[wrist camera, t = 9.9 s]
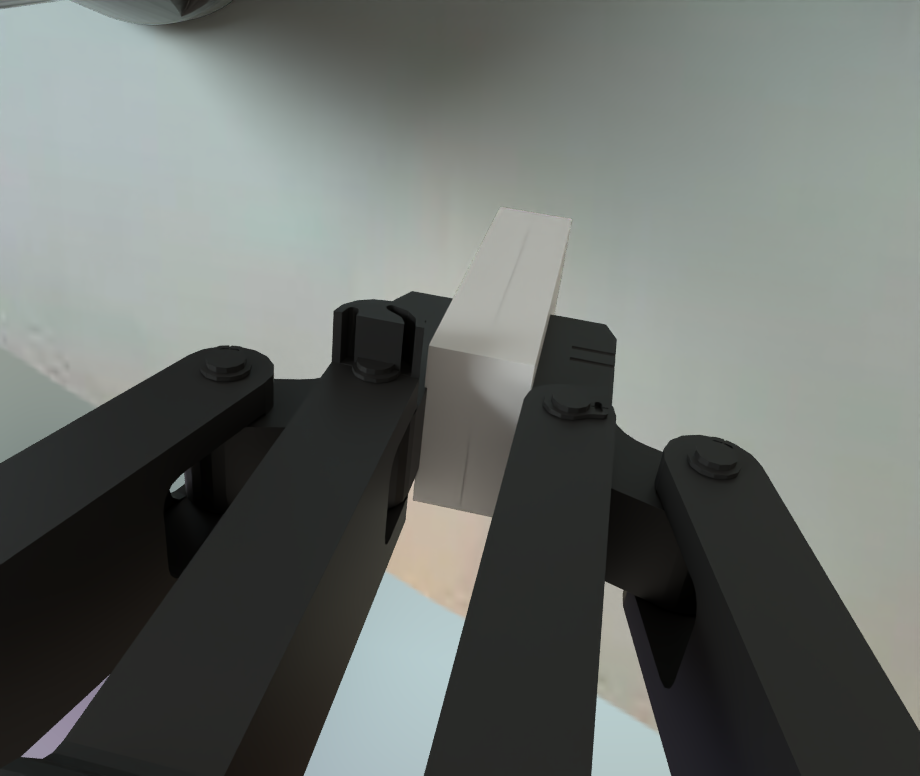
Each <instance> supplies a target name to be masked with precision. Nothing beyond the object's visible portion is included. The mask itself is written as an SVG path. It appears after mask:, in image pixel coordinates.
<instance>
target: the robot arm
mask: <svg viewBox="0 0 920 776" xmlns="http://www.w3.org/2000/svg"><path fill="white" fill-rule="evenodd" d="M54 1H61V0H0V9H6V8H12V7H19V6H26V5H33V4H40V3H47V2H54ZM70 1H73V2H75V3H77V4H79V5H82V6H84V7H86V8H89V9H91V10H93V11H96V12H98V13H100V14H103V15H105V16H108V17H111V18H114V19H117V20H121V21H125V22H130V23H136V24H147V25H162V24H171V23H176V22H181V21H186V20H191V19H195V18H199V17H202V16H205V15H208V14H210V13H213V12H215V11H217V10H219V9H221V8H222V7H224V6H225V5H227V4H229V3H230V2H231V1H233V0H70ZM571 223H572V219H570V218H564V217H558V216H552V215H546V214H541V213H535V212H529V211H523V210H517V209H511V208H505V207H500V208H499V210H498V212H497V214H496V216H495V218H494V220H493V222H492V224H491V226H490V228H489V230H488V232H487V233H486V235H485V237H484V239H483V241H482V243H481V245H480V247H479V249H478V251H477V253H476V255H475V257H474V259H473V261H472V263H471V264H470V266H469V268H468V270H467V272H466V274H465V276H464V278H463V280H462V282H461V284H460V286H459V288H458V290H457V292H456V294H455V296H454V297H453V299H452V298H447V297H441V296H436V295H430V294H425V293H419V292H414V291H412V292H410V293H408V294H406V295H404V296H402V297H400V298H398V299H395V300H394V301H385V300H375V299H371V300H357V301H353V302H350V303H346V304H343V305H341V306H340V307H339V308H337V309H336V310H334V317H333V344H332V362H331V364H330V365H329V367H328V368H327V369H326V371H325V372H324V374H323V375H322V376H321V378H316V379H300V380H299V379H274V364H273V363H272V362H271V361H270V359H269V358H268V357H267V356H265V355H263V354H261V353H259V352H257V351H255V350H251V349H247V348H242V347H240V346H231V347H229V346H218V347H214V348H208V349H203V350H200V351H198V352H195V353H193V354H190V355H188V356H186V357H185V358H183V359H181V360H179V361H178V362H176V363H174V364H172V365H171V366H169V367H167V368H165V369H164V370H162V371H160V372H158V373H157V374H155V375H153V376H152V377H150V378H148V379H146V380H145V381H143V382H141V383H139V384H138V385H136V386H134V387H132V388H131V389H129V390H127V391H125V392H124V393H122V394H120V395H118V396H117V397H115V398H113V399H111V400H110V401H108V402H106V403H105V404H103V405H101V406H99V407H98V408H96V409H94V410H93V411H91V412H89V413H87V414H85V415H84V416H82V417H80V418H78V419H77V420H75V421H73V422H71V423H70V424H68V425H66V426H65V427H63V428H61V429H59V430H58V431H56V432H54V433H52V434H51V435H49V436H47V437H46V438H44V439H42V440H40V441H39V442H37V443H35V444H33V445H31V446H30V447H28V448H26V449H25V450H23V451H21V452H19V453H18V454H16V455H14V456H12V457H11V458H9V459H7V460H5V461H4V462H2V463H0V776H304V773H305V771H306V768H307V765H308V763H309V760H310V758H311V756H312V753H313V750H314V748H315V746H316V743H317V740H318V738H319V735H320V733H321V730H322V728H323V725H324V723H325V720H326V718H327V715H328V713H329V710H330V708H331V705H332V703H333V700H334V698H335V695H336V693H337V690H338V688H339V685H340V683H341V680H342V678H343V675H344V673H345V670H346V668H347V665H348V663H349V660H350V658H351V655H352V653H353V650H354V648H355V645H356V643H357V640H358V638H359V635H360V633H361V630H362V628H363V625H364V623H365V620H366V618H367V615H368V613H369V610H370V608H371V605H372V602H373V600H374V598H375V595H376V593H377V590H378V588H379V585H380V583H381V580H382V578H383V575H384V573H385V570H386V568H387V565H388V563H389V560H390V558H391V555H392V553H393V550H394V548H395V545H396V543H397V540H398V538H399V535H400V533H401V530H402V528H403V525H404V523H405V519H406V509H407V499H408V493H409V490H410V488H411V486H412V483H413V481H414V479H415V484H414V493H413V500H414V501H418V502H423V503H428V504H433V505H437V506H442V507H447V508H451V509H456V510H461V511H465V512H470V513H475V514H479V515H484V516H489V517H492V521H491V525H490V528H489V532H488V536H487V540H486V543H485V547H484V551H483V555H482V558H481V562H480V566H479V570H478V574H477V577H476V581H475V585H474V589H473V592H472V596H471V600H470V604H469V608H468V611H467V615H466V619H465V623H464V626H463V630H462V634H461V638H460V642H459V645H458V649H457V653H456V657H455V661H454V664H453V668H452V672H451V675H450V679H449V683H448V687H447V691H446V694H445V698H444V702H443V706H442V709H441V713H440V717H439V721H438V724H437V728H436V732H435V736H434V739H433V743H432V747H431V751H430V755H429V758H428V762H427V766H426V770H425V773H424V776H591V770H592V755H593V742H594V727H595V713H596V699H597V684H598V670H599V656H600V641H601V627H602V612H603V598H604V584H605V581H606V582H608V583H610V584H612V585H614V586H616V587H619V588H621V589H623V590H624V591H623V608H624V611H625V615H626V618H627V622H628V625H629V629H630V632H631V636H632V639H633V643H634V646H635V650H636V653H637V657H638V660H639V664H640V667H641V671H642V674H643V678H644V681H645V685H646V688H647V692H648V695H649V699H650V703H651V706H652V710H653V713H654V717H655V720H656V724H657V727H658V731H659V734H660V738H661V741H662V745H663V748H664V752H665V755H666V758H667V762H668V766H669V769H670V773H671V776H920V731H919V729H918V728H917V726H916V724H915V723H914V721H913V719H912V717H911V716H910V714H909V712H908V711H907V709H906V707H905V706H904V704H903V702H902V701H901V699H900V697H899V696H898V694H897V692H896V691H895V689H894V687H893V686H892V684H891V682H890V681H889V679H888V677H887V675H886V674H885V672H884V670H883V669H882V667H881V665H880V664H879V662H878V660H877V659H876V657H875V655H874V654H873V652H872V650H871V649H870V647H869V645H868V644H867V642H866V640H865V639H864V637H863V635H862V633H861V632H860V630H859V628H858V627H857V625H856V623H855V622H854V620H853V618H852V617H851V615H850V613H849V612H848V610H847V608H846V607H845V605H844V603H843V602H842V600H841V598H840V597H839V595H838V593H837V591H836V590H835V588H834V586H833V585H832V583H831V581H830V580H829V578H828V576H827V575H826V573H825V571H824V570H823V568H822V566H821V565H820V563H819V561H818V560H817V558H816V556H815V555H814V553H813V551H812V549H811V548H810V546H809V544H808V543H807V541H806V539H805V538H804V536H803V534H802V533H801V531H800V529H799V528H798V526H797V524H796V523H795V521H794V519H793V518H792V516H791V514H790V513H789V511H788V509H787V507H786V506H785V504H784V502H783V501H782V499H781V497H780V496H779V494H778V492H777V491H776V489H775V487H774V486H773V484H772V482H771V481H770V479H769V477H768V476H767V474H766V472H765V471H764V469H763V467H762V466H761V465H760V463H759V462H758V461H757V460H756V459H755V458H754V457H753V456H752V455H751V454H750V453H748V452H746V451H745V450H743V449H742V448H740V447H739V446H737V445H735V444H734V443H731V442H729V441H727V440H726V441H724V439H721V438H717V437H709V436H703V435H686V436H680V437H678V438H675V439H673V440H670V441H669V443H668V444H667V445H666V447H665V448H664V450H663V452H661V451H659V450H656V449H654V448H651V447H649V446H647V445H645V444H643V443H640V442H638V441H636V440H635V439H633V438H632V437H630V436H629V435H627V434H626V433H624V432H623V431H622V430H621V429H620V428H619V427H618V426H617V424H616V415H615V411H614V408H613V406H612V395H613V382H614V366H615V354H616V341H617V339H616V338H615V336H614V335H613V334H612V332H611V331H610V330H609V328H608V327H607V325H605V324H600V323H594V322H589V321H583V320H578V319H573V318H567V317H562V316H556V315H554V314H555V309H556V304H557V298H558V293H559V287H560V282H561V277H562V271H563V266H564V260H565V255H566V250H567V244H568V239H569V233H570V228H571ZM183 473H184V475H185V484H184V485H183V486H181V487H180V488H179V489H177V490H176V491H174V492H172V493H170V490H169V489H170V487H171V485H172V484H173V483H174V482H175V481H176V480H177V478H179V476H180V475H181V474H183ZM109 675H110V676H109ZM107 676H109V677H108V678H107V680H106V681H105V683H104V684H103V685H102V687H101V688H100V690H99V691H98V692H97V694H96V695H95V697H94V698H93V700H92V701H91V702H90V704H89V705H88V707H87V709H85V711H84V713H83V714H82V715H81V717H80V718H79V719H78V721H77V722H76V724H75V725H74V726H73V728H72V729H71V731H70V732H69V733H68V735H67V736H66V738H65V739H64V741H63V742H62V743H61V744H60V745H59V746H58V747H57V749H56V750H55V751H54V752H53V753H52V754H50V755H48V756H46V757H45V758H43V759H37V758H25V757H21V756H22V755H23V754H24V753H25V752H26V751H27V750H29V749H30V748H31V747H32V746H33V745H34V744H35V743H36V742H37V741H38V740H39V739H40V738H41V737H43V736H44V735H45V734H46V733H47V732H48V731H49V730H50V729H51V728H52V727H53V726H54V725H56V724H57V723H58V722H59V721H60V720H61V719H62V718H63V717H64V716H65V715H66V714H67V713H69V712H70V711H71V710H72V709H73V708H74V707H75V706H76V705H77V704H78V703H79V702H80V701H82V700H83V699H84V698H85V697H86V696H87V695H88V694H89V693H90V692H91V691H92V690H93V689H95V688H96V687H97V686H98V685H99V684H100V683H101V682H102V681H103V680H104V679H105V678H106V677H107Z"/></svg>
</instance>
